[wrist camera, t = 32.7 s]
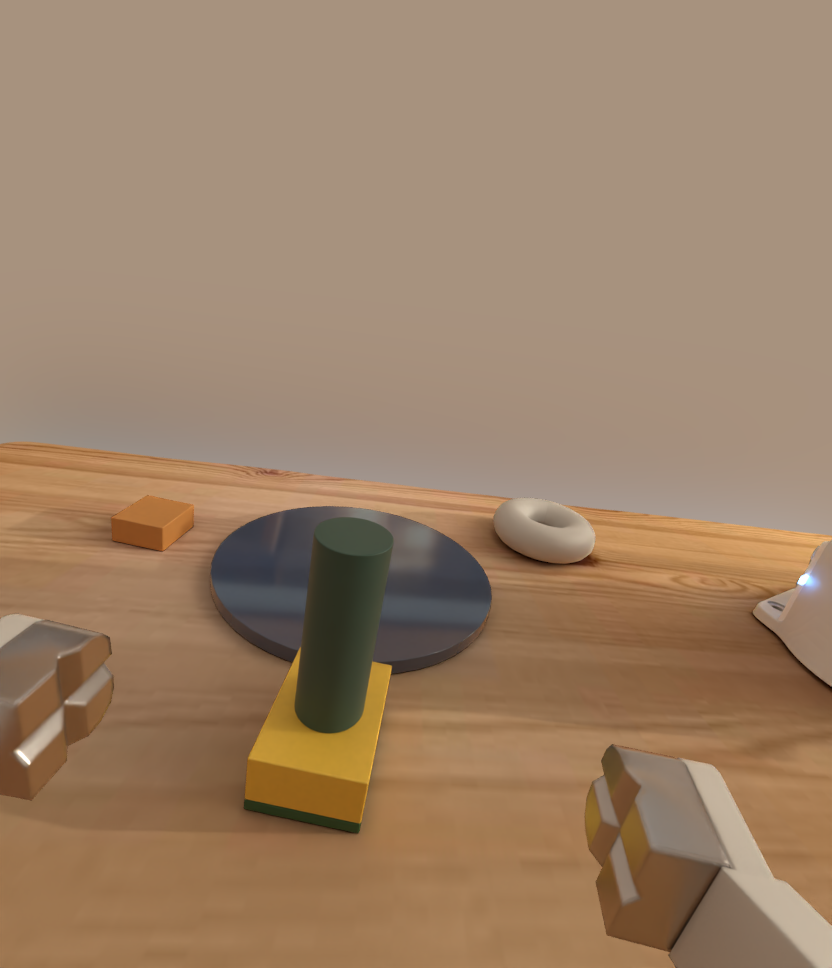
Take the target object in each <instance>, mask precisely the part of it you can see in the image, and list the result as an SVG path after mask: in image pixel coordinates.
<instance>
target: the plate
mask: <svg viewBox="0 0 832 968" xmlns="http://www.w3.org/2000/svg"><path fill="white" fill-rule="evenodd" d="M339 517H353V518H360V519H365V520H369V521H372V522H375V523H377V524H379V525H381V526H383V527H384V528H386V529H387V530H388V531H389V532H390V533H391V534H392V536H393V539H394V543H393V549H392V554H391V560H390V566H389V571H388V577H387V582H386V588H385V594H384V599H383V605H382V610H381V616H380V622H379V627H378V633H377V638H376V644H375V649H374V655H373V662H377V663H382V664H387V665H391V666H392V670H391V674H393V673H402V672H407V671H412V670H418V669H422V668H425V667H428V666H431V665H434V664H438V663H440V662H442V661H444V660H447V659H449V658H451V657H453V656H455V655H456V654H458V653H459V652H461V651H462V650H464V649H465V648H467V647H468V646H469V645H470V644H471V643H472V642H473V641H474V640H475V639H476V638H477V637H478V635H479V634H480V632H481V631H482V630H483V628H484V626H485V623H486V621H487V618H488V615H489V611H490V607H491V600H492V595H491V587H490V584H489V581H488V578H487V576H486V574H485V572H484V570H483V568H482V567H481V566H480V564H479V563H478V562H477V560H476V559H475V558H474V557H473V556H472V555H471V554H470V553H469V552H468V551H466V550H465V549H464V548H463V547H462V546H460V545H459V544H458V543H456V542H455V541H453V540H452V539H450V538H449V537H447V536H445V535H444V534H442V533H440V532H438V531H436V530H434V529H432V528H430V527H428V526H426V525H423V524H420V523H418V522H415V521H413V520H410V519H407V518H403V517H400V516H397V515H393V514H389V513H385V512H380V511H375V510H369V509H362V508H352V507H336V506H322V507H306V508H297V509H291V510H285V511H281V512H277V513H273V514H270V515H267V516H263V517H260V518H258V519H256V520H253V521H251V522H249V523H247V524H245V525H244V526H242V527H240V528H238V529H237V530H236V531H234V532H233V533H232V534H230V535H229V536H228V537H227V538H226V539H225V540H224V541H223V542H222V543H221V545H220V546H219V548H218V549H217V551H216V552H215V555H214V557H213V560H212V563H211V573H210V587H211V593H212V597H213V600H214V602H215V605H216V607H217V609H218V610H219V612H220V613H221V615H222V616H223V618H224V619H225V621H226V622H227V623H228V624H229V625H230V626H231V627H232V628H233V629H234V630H235V631H236V632H237V633H239V634H240V635H241V636H243V637H244V638H245V639H247V640H248V641H249V642H251V643H252V644H254V645H256V646H258V647H259V648H261V649H263V650H265V651H266V652H268V653H271V654H273V655H275V656H278V657H280V658H282V659H285V660H287V661H290V662H293V661H294V659H295V657H296V655H297V652H298V650H299V648H300V647H301V642H302V634H303V625H304V616H305V607H306V598H307V590H308V581H309V572H310V563H311V554H312V546H313V537H314V530H315V528H316V527H317V525H319V524H320V523H321V522H323V521H326V520H328V519H332V518H339Z"/></svg>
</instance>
